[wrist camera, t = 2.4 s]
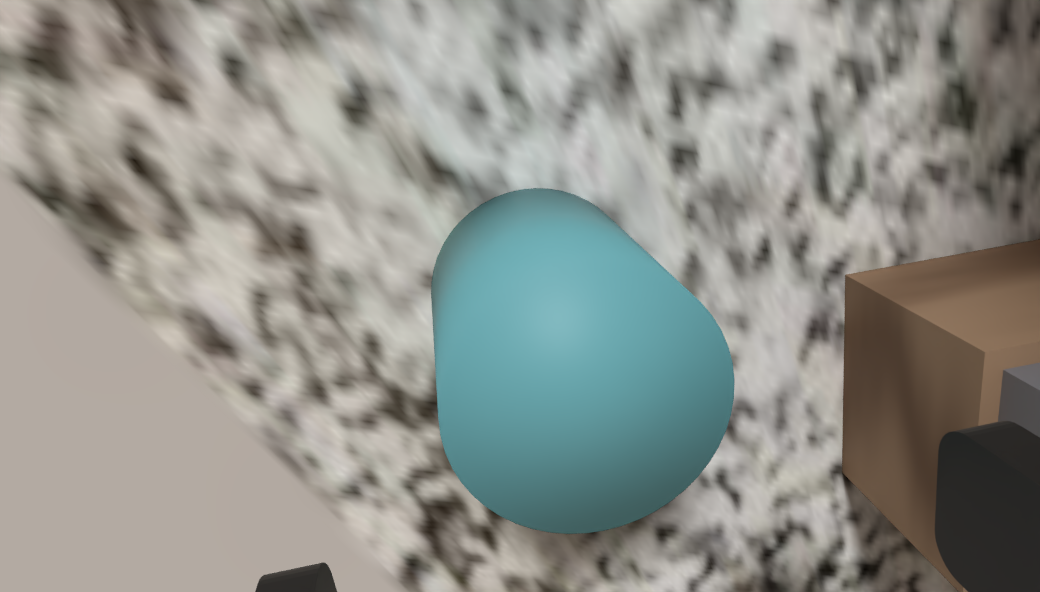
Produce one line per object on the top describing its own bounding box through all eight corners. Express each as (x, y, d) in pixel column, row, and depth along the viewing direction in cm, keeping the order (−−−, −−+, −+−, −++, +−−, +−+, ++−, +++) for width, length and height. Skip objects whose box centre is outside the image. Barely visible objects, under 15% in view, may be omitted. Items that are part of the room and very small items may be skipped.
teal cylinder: (413, 207, 17) (412, 294, 11) (625, 172, 17) (728, 237, 11) (450, 399, 18) (465, 559, 13) (642, 363, 19) (739, 503, 13)
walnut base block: (843, 273, 19) (985, 351, 14) (1059, 234, 19) (1265, 297, 15) (840, 470, 21) (962, 595, 16) (1034, 430, 21) (1208, 540, 17)
